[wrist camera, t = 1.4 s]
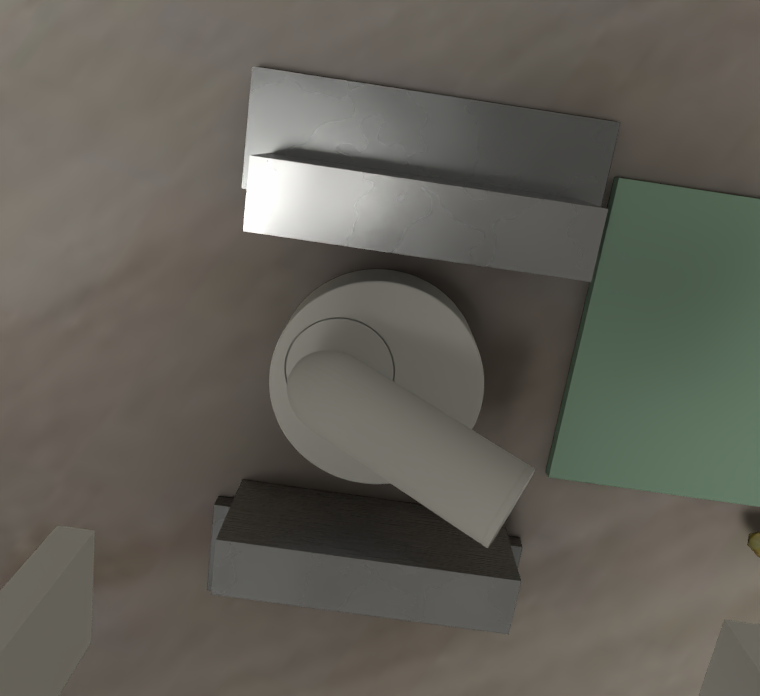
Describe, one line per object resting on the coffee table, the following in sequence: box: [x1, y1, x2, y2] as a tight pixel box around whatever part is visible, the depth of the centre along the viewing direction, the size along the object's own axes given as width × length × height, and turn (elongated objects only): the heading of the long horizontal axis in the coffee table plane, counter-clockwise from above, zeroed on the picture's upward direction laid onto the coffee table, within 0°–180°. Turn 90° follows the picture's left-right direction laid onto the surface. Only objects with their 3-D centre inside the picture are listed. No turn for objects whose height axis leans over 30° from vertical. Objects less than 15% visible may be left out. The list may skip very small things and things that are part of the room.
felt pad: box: [546, 177, 760, 507], centre depth 30 cm, size 13×13×1 cm
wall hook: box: [269, 269, 536, 548], centre depth 26 cm, size 9×10×10 cm
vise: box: [207, 66, 620, 634], centre depth 28 cm, size 14×23×5 cm, turn 172°
